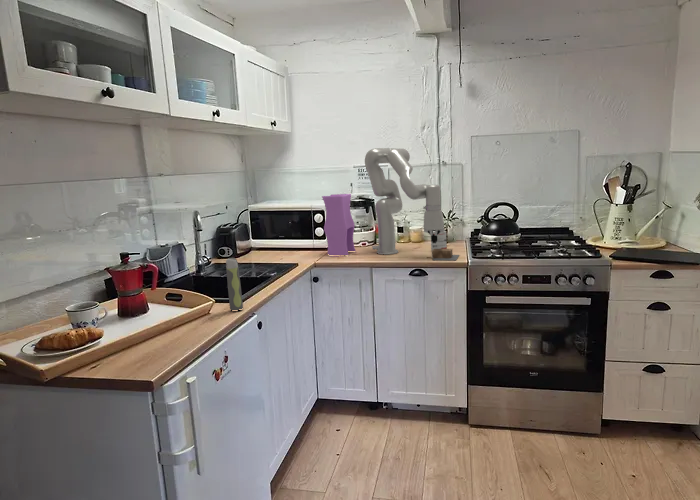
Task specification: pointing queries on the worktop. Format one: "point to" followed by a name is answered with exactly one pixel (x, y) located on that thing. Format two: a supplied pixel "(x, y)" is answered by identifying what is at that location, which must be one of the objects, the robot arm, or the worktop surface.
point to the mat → (447, 258)
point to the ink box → (440, 241)
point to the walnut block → (442, 253)
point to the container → (339, 224)
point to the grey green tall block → (234, 284)
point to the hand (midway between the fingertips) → (434, 242)
